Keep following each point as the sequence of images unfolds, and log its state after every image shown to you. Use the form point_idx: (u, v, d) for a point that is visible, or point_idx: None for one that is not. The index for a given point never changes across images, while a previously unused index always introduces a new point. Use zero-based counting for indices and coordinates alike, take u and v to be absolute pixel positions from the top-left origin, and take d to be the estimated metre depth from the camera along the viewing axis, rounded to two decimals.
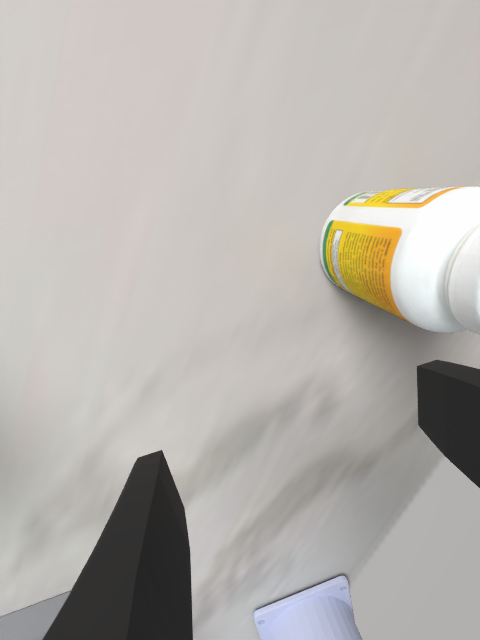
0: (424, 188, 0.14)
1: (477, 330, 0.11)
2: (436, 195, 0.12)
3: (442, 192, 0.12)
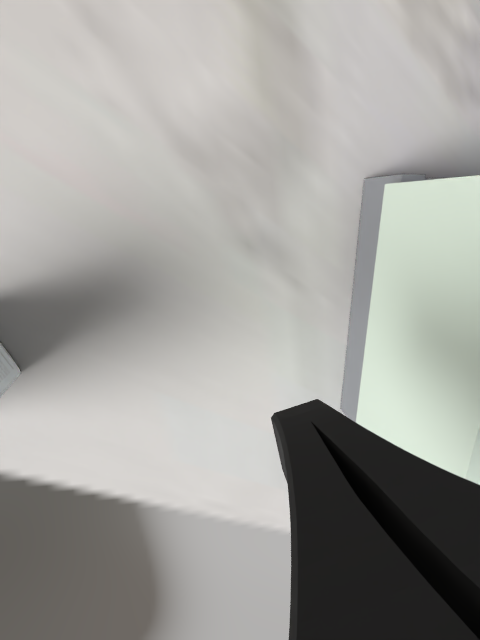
0: None
1: None
2: None
3: None
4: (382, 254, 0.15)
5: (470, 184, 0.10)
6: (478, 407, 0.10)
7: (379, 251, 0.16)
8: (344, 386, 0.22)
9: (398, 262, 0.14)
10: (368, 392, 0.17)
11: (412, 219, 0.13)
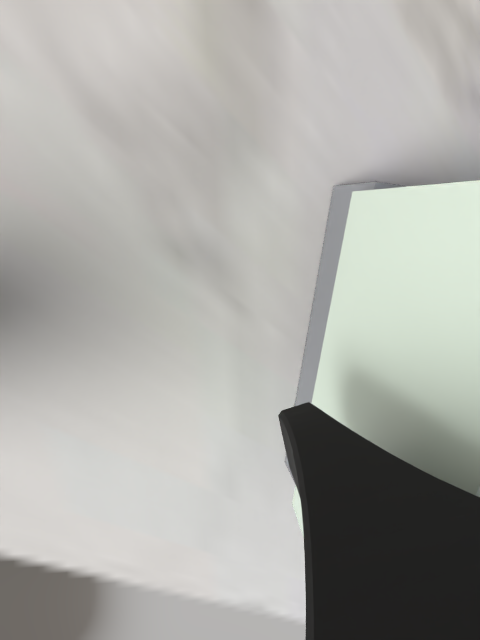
0: None
1: None
2: None
3: None
4: (342, 283, 0.12)
5: (463, 194, 0.07)
6: None
7: (338, 278, 0.12)
8: None
9: (357, 296, 0.10)
10: None
11: (380, 240, 0.09)
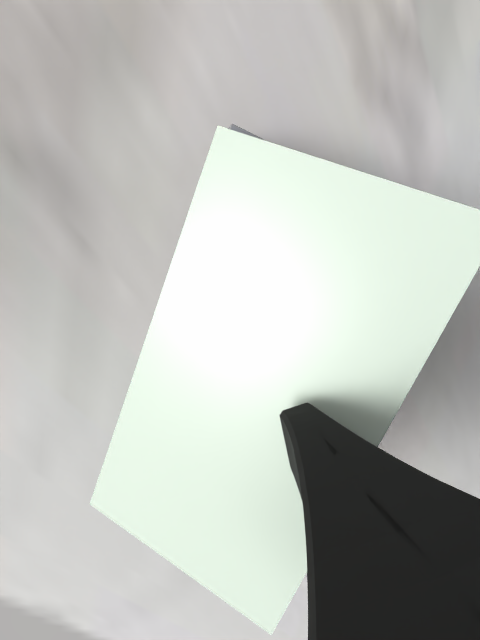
0: None
1: None
2: None
3: None
4: (198, 238, 0.10)
5: (394, 194, 0.08)
6: None
7: (189, 231, 0.10)
8: None
9: (234, 259, 0.09)
10: (136, 442, 0.11)
11: (276, 204, 0.09)
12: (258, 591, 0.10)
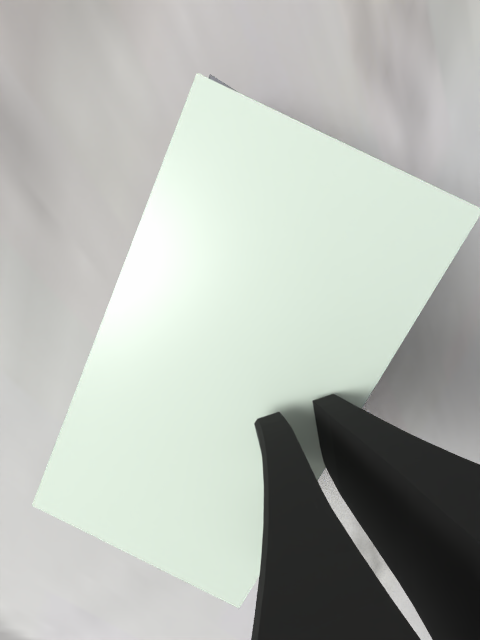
0: None
1: None
2: None
3: None
4: (170, 206, 0.08)
5: (385, 175, 0.08)
6: None
7: (159, 197, 0.08)
8: None
9: (212, 233, 0.09)
10: (90, 435, 0.10)
11: (262, 175, 0.08)
12: (227, 570, 0.10)
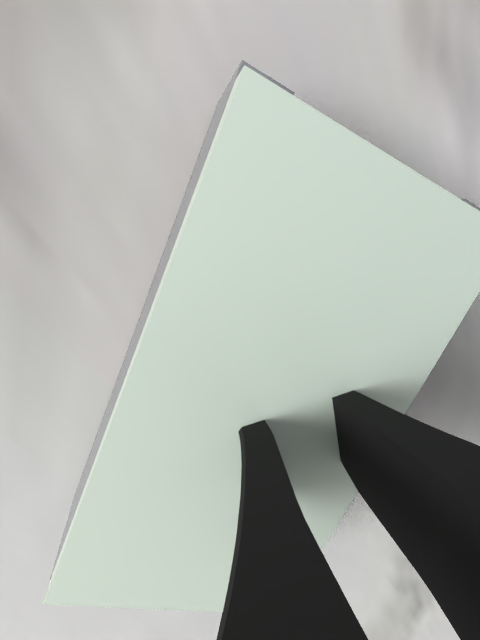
0: None
1: None
2: None
3: None
4: (210, 241, 0.07)
5: (440, 201, 0.07)
6: None
7: (196, 230, 0.07)
8: None
9: (262, 271, 0.07)
10: (117, 512, 0.08)
11: (321, 201, 0.07)
12: None
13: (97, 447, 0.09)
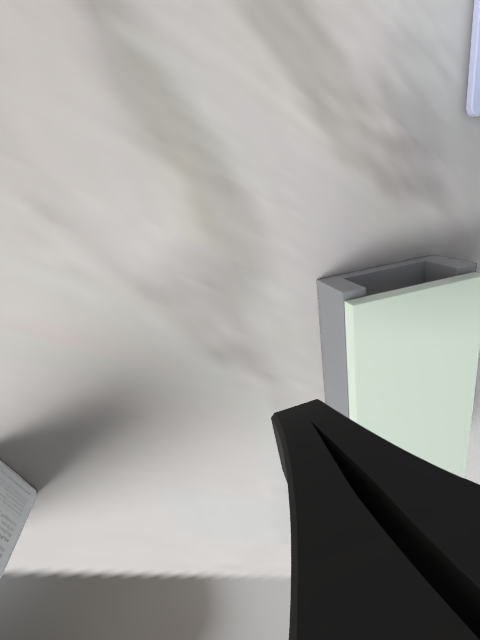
0: None
1: None
2: None
3: None
4: (365, 359, 0.17)
5: (446, 289, 0.17)
6: (471, 390, 0.19)
7: (359, 359, 0.17)
8: None
9: (388, 356, 0.17)
10: None
11: (398, 322, 0.17)
12: (453, 468, 0.21)
13: None
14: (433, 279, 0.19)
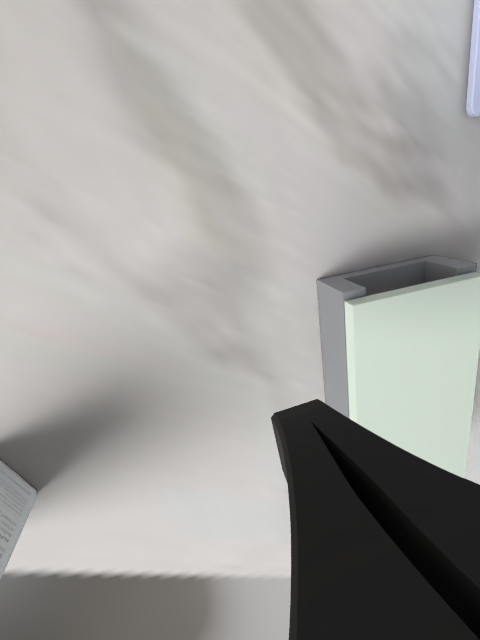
0: None
1: None
2: None
3: None
4: (365, 359, 0.17)
5: (446, 289, 0.17)
6: (471, 390, 0.19)
7: (359, 359, 0.17)
8: None
9: (388, 356, 0.17)
10: None
11: (398, 322, 0.17)
12: (453, 468, 0.21)
13: None
14: (433, 279, 0.19)
